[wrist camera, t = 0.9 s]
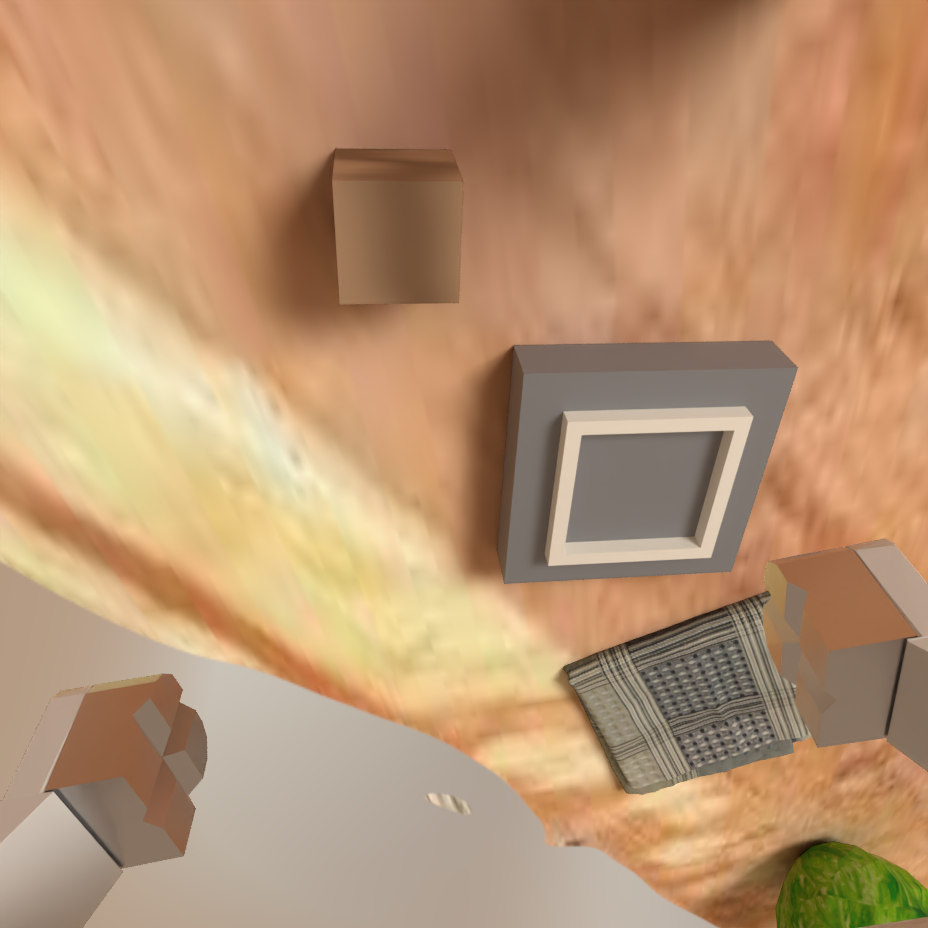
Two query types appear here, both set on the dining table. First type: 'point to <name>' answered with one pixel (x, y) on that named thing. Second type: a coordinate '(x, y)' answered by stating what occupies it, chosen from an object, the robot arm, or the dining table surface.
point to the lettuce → (847, 890)
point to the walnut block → (397, 225)
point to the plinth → (635, 456)
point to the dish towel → (690, 699)
